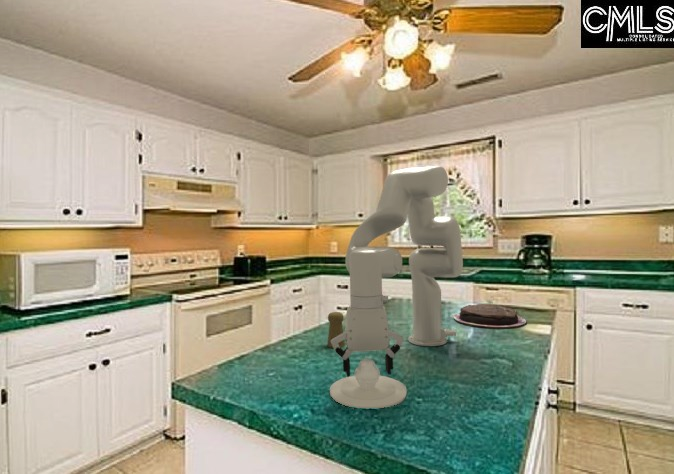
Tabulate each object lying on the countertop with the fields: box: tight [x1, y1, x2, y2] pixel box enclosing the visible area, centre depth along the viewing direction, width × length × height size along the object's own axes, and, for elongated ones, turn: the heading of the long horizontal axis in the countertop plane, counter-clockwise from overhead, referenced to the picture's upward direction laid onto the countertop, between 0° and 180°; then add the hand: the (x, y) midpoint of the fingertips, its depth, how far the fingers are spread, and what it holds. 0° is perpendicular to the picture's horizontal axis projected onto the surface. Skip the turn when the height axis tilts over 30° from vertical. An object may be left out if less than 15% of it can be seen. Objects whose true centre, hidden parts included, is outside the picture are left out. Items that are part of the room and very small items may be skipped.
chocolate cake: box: [452, 303, 527, 330], centre depth 166 cm, size 28×28×7 cm
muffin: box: [353, 358, 381, 390], centre depth 96 cm, size 6×6×7 cm
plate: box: [329, 375, 407, 409], centre depth 96 cm, size 18×18×1 cm
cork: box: [326, 311, 346, 349], centre depth 136 cm, size 6×6×11 cm
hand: (368, 373), depth 96 cm, fingers open, 9 cm apart
